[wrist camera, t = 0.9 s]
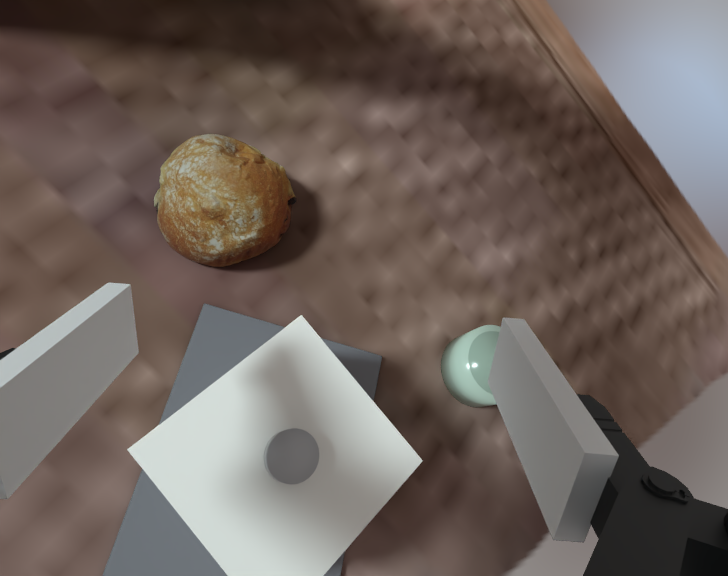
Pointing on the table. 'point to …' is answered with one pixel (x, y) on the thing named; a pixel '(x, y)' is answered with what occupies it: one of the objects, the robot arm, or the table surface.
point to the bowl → (471, 366)
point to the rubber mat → (197, 372)
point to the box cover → (278, 459)
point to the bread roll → (222, 201)
